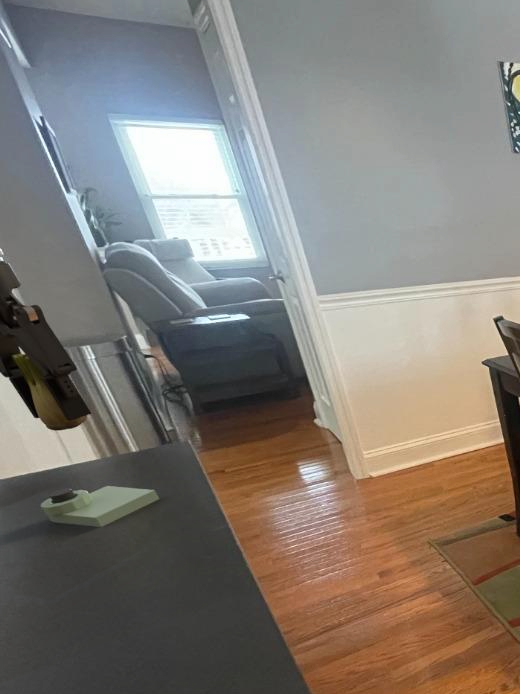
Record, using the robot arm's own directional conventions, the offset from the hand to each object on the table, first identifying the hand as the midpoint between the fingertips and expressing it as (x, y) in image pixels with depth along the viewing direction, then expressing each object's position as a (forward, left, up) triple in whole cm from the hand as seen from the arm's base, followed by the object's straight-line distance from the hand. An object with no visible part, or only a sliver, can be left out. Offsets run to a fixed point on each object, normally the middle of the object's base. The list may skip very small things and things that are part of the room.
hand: (63, 415), depth 93 cm
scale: (-3, 0, -18) cm, 18 cm away
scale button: (-7, -3, -15) cm, 16 cm away
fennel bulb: (0, 0, -2) cm, 2 cm away
